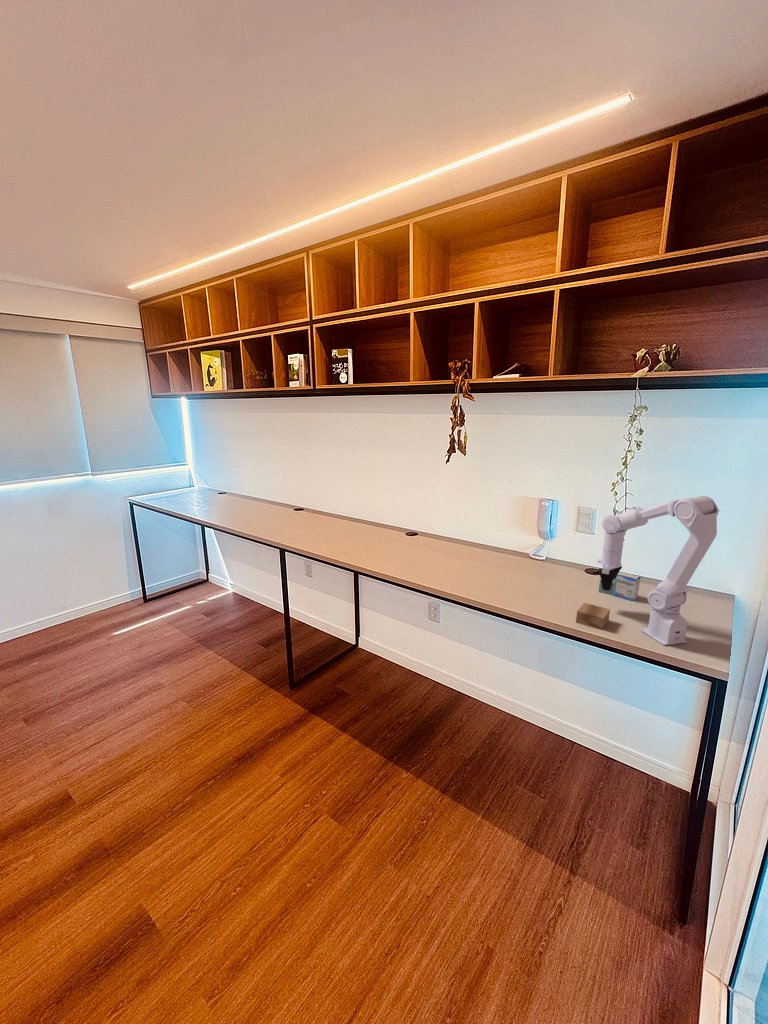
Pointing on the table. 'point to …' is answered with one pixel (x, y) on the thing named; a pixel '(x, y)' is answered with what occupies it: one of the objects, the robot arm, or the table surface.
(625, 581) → the medicine box
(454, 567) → the table surface
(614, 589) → the teal cube
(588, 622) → the walnut block
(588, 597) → the table surface
